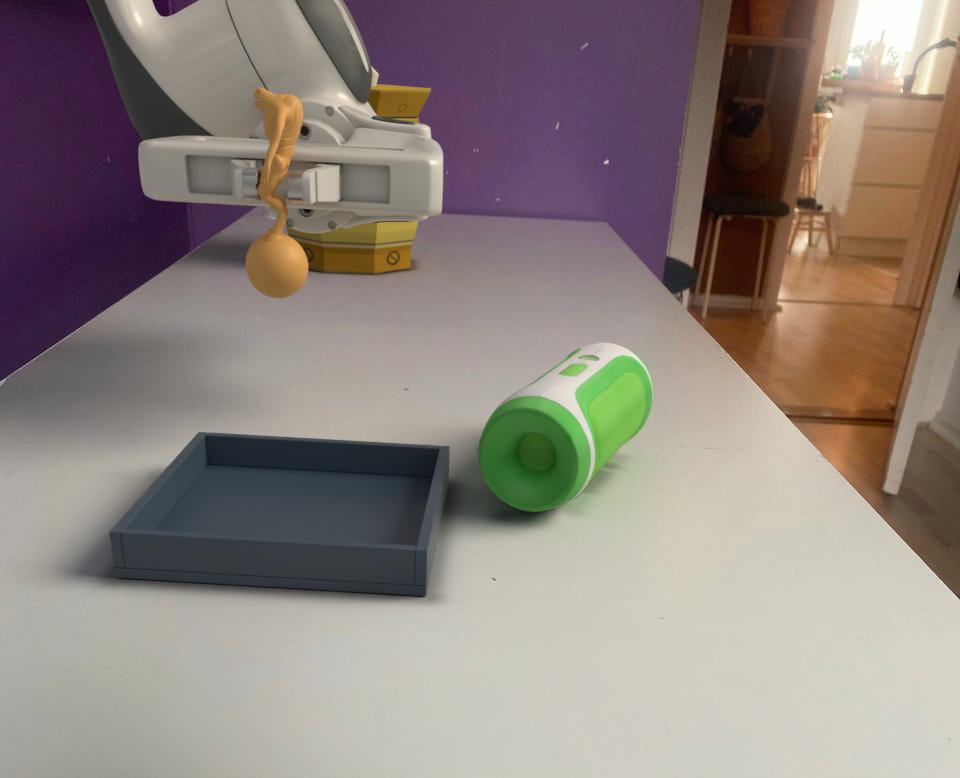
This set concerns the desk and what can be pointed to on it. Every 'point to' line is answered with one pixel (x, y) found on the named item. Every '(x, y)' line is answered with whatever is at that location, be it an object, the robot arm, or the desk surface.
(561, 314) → the desk surface
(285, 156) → the figurine
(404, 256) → the container
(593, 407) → the speaker
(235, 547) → the tray
